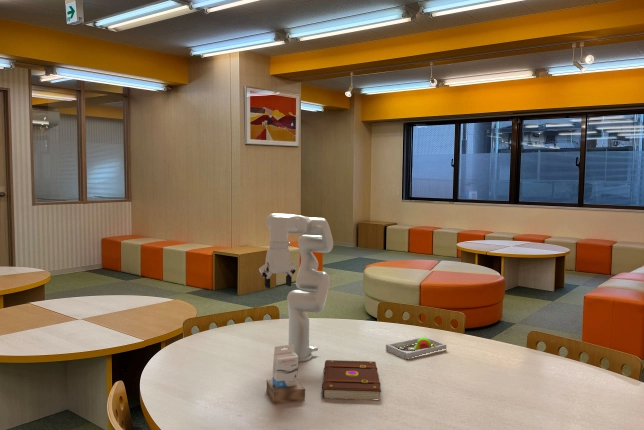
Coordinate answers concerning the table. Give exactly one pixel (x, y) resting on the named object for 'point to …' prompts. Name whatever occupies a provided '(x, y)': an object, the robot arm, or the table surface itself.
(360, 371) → the book
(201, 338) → the table surface
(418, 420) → the table surface
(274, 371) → the ink box
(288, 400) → the walnut block
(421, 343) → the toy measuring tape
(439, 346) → the grey plastic rim
